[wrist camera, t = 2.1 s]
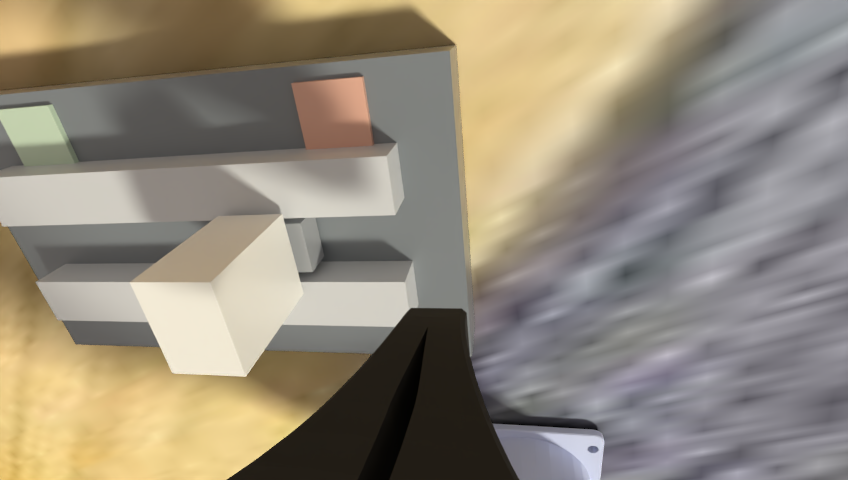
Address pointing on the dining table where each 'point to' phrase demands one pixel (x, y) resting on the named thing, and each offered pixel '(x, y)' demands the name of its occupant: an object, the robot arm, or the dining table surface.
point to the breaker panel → (271, 123)
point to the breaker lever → (227, 291)
